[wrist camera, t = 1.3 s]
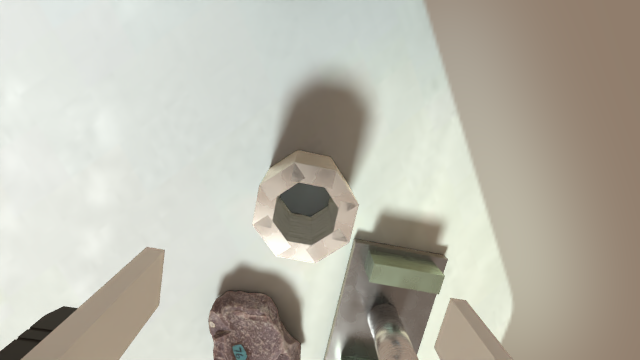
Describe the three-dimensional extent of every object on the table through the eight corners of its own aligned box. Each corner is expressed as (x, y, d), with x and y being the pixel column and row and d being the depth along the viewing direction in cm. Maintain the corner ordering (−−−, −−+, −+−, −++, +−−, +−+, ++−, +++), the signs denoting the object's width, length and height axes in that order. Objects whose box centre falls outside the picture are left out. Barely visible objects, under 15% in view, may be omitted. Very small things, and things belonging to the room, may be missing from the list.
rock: (268, 272, 35) (261, 296, 30) (309, 353, 37) (309, 387, 33) (200, 298, 35) (184, 327, 31) (246, 377, 38) (237, 414, 33)
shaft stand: (354, 238, 34) (368, 278, 26) (443, 254, 35) (483, 298, 27) (322, 364, 37) (326, 432, 30) (404, 376, 38) (429, 446, 30)
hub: (273, 145, 31) (264, 156, 24) (353, 161, 32) (365, 176, 25) (260, 221, 33) (247, 251, 26) (335, 234, 34) (342, 268, 27)
